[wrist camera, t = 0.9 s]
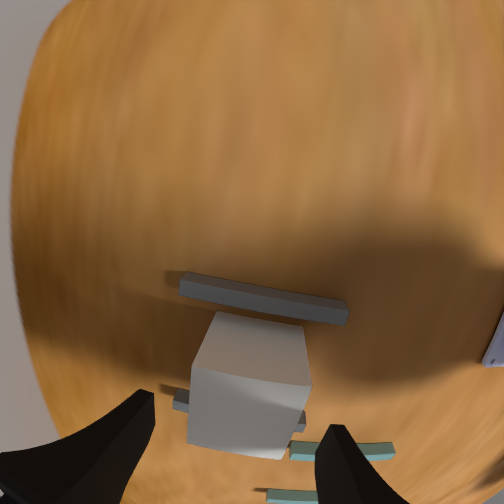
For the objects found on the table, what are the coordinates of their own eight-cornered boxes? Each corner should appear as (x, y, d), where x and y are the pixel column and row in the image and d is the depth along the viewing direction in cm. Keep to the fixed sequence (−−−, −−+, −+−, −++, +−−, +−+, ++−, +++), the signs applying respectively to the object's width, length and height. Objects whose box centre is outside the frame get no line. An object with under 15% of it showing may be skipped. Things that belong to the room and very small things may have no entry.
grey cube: (302, 325, 15) (312, 387, 10) (281, 395, 16) (280, 459, 11) (216, 310, 15) (191, 365, 10) (207, 382, 16) (186, 442, 11)
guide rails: (460, 317, 14) (469, 326, 12) (349, 493, 18) (351, 503, 17) (187, 271, 14) (179, 279, 13) (177, 475, 19) (174, 485, 18)
